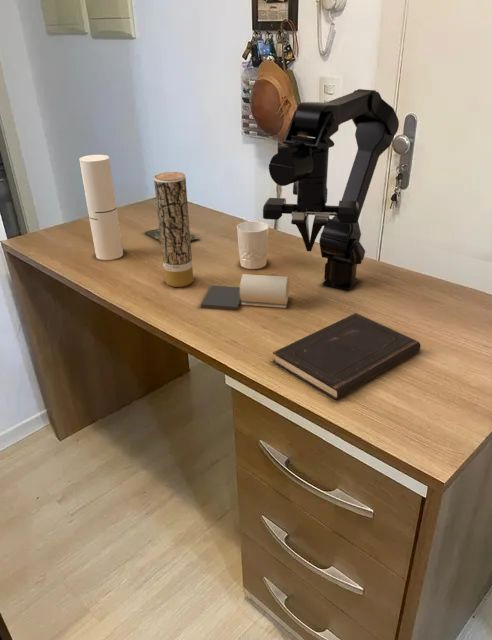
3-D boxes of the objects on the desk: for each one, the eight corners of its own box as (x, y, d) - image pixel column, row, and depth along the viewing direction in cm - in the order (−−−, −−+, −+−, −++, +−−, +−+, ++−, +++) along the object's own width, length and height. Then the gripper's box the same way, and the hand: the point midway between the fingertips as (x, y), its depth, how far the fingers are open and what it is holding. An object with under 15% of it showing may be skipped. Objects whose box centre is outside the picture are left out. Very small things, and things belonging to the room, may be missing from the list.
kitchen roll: (288, 297, 126) (289, 272, 122) (285, 309, 121) (285, 283, 118) (245, 294, 127) (244, 269, 124) (240, 306, 122) (239, 280, 119)
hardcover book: (272, 362, 103) (272, 352, 102) (354, 322, 115) (355, 312, 114) (337, 401, 93) (338, 390, 91) (419, 352, 105) (421, 342, 104)
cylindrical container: (119, 260, 146) (105, 161, 132) (92, 260, 146) (75, 161, 132) (125, 249, 152) (112, 154, 138) (99, 250, 152) (83, 154, 138)
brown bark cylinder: (188, 289, 130) (179, 180, 117) (161, 287, 131) (149, 179, 118) (197, 277, 136) (189, 172, 122) (170, 275, 137) (159, 171, 123)
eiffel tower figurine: (143, 233, 162) (137, 187, 155) (173, 226, 168) (169, 181, 160) (168, 248, 152) (163, 199, 145) (200, 240, 157) (196, 192, 150)
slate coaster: (245, 290, 129) (245, 287, 129) (236, 310, 121) (236, 306, 120) (212, 288, 130) (211, 285, 130) (201, 307, 122) (200, 304, 122)
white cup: (256, 273, 137) (255, 234, 132) (231, 265, 142) (230, 227, 136) (274, 262, 143) (275, 224, 137) (250, 256, 147) (249, 219, 141)
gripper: (362, 165, 113) (355, 239, 121) (271, 162, 116) (271, 235, 124) (361, 180, 103) (354, 258, 112) (262, 176, 106) (262, 253, 115)
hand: (309, 250), depth 116 cm, fingers closed
